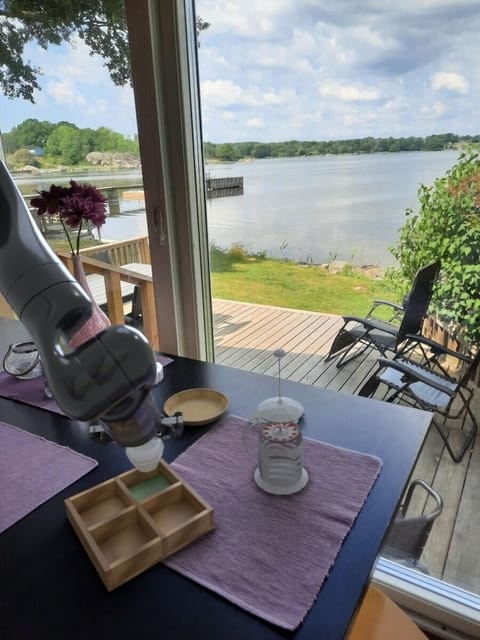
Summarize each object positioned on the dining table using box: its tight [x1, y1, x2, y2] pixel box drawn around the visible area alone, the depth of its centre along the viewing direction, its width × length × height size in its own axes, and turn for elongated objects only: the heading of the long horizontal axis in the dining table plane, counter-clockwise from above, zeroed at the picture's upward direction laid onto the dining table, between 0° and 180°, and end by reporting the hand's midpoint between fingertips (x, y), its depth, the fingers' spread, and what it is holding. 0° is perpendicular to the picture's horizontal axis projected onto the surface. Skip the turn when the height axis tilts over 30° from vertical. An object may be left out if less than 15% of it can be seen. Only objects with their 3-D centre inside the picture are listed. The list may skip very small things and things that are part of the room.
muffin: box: [125, 439, 165, 472], centre depth 73 cm, size 6×6×7 cm
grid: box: [63, 457, 216, 593], centre depth 70 cm, size 17×17×4 cm
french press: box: [241, 347, 309, 496], centre depth 76 cm, size 10×12×25 cm
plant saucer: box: [163, 388, 230, 427], centre depth 101 cm, size 15×15×3 cm
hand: (144, 438), depth 74 cm, fingers closed on muffin, 6 cm apart
